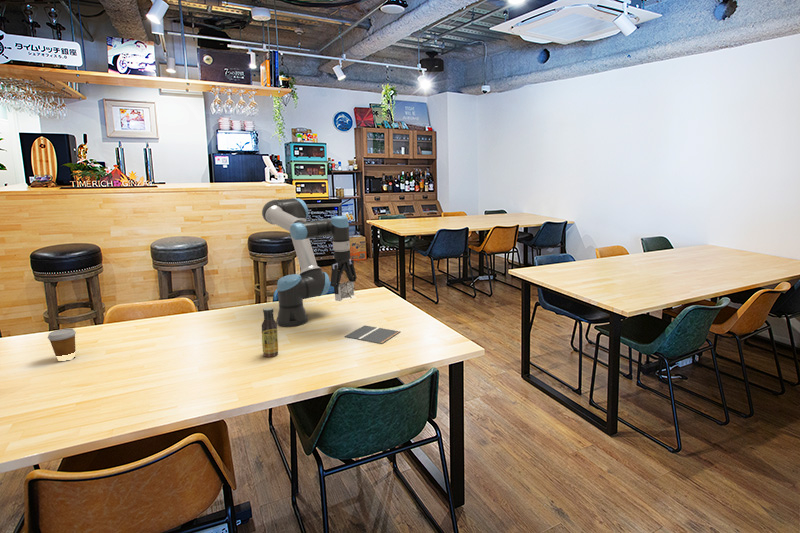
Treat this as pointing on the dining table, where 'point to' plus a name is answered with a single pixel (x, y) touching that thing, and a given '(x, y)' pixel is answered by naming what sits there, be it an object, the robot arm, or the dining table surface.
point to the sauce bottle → (269, 334)
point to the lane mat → (373, 334)
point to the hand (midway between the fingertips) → (345, 297)
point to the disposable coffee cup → (63, 341)
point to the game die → (345, 290)
